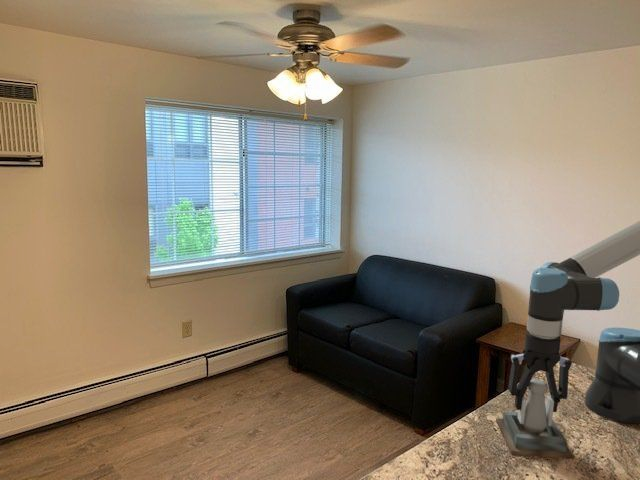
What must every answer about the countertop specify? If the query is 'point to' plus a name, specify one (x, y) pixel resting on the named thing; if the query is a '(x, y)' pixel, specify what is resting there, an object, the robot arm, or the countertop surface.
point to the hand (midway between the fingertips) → (534, 421)
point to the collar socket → (532, 439)
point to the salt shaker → (536, 408)
